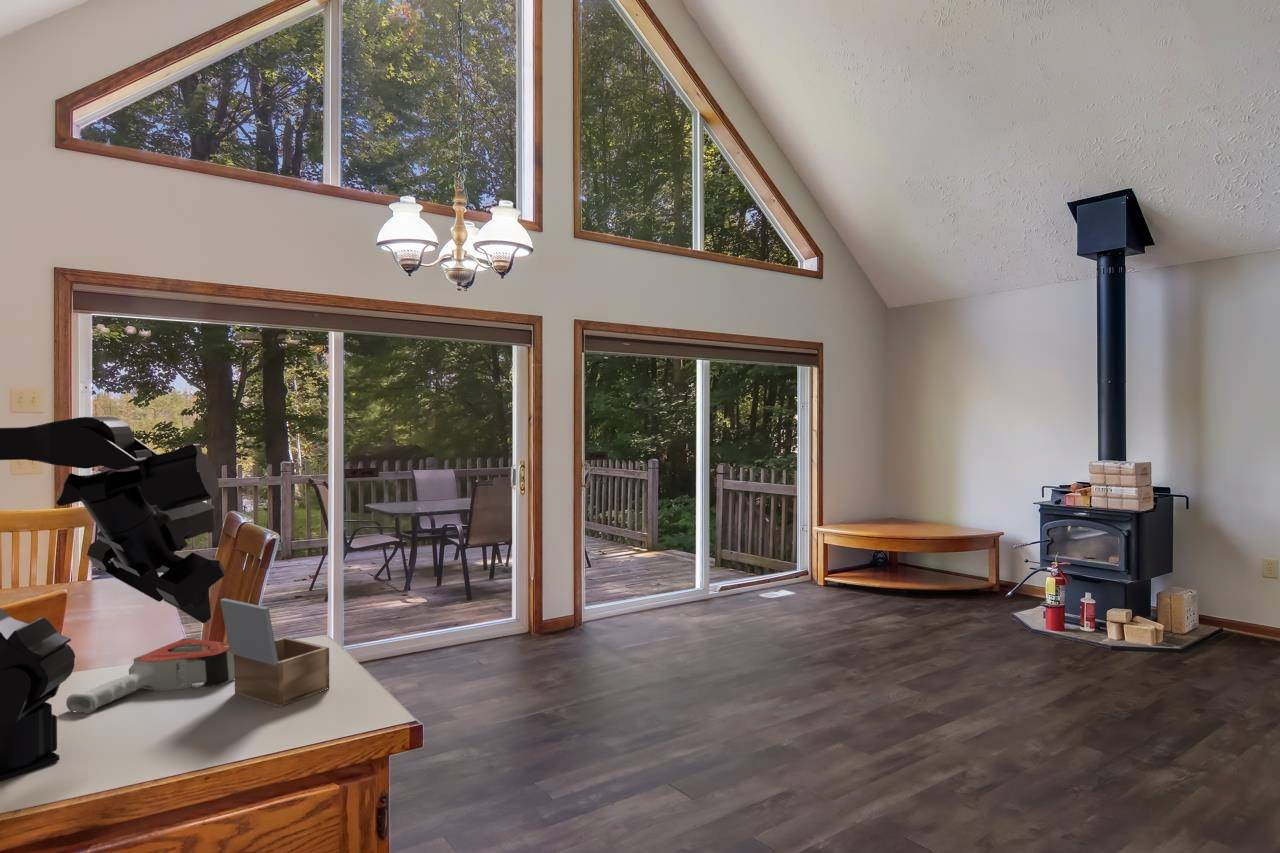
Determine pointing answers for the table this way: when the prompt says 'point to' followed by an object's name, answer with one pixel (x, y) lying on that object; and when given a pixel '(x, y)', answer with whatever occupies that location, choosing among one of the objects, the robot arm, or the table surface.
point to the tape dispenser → (164, 672)
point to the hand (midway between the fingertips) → (184, 609)
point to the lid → (249, 631)
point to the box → (284, 673)
